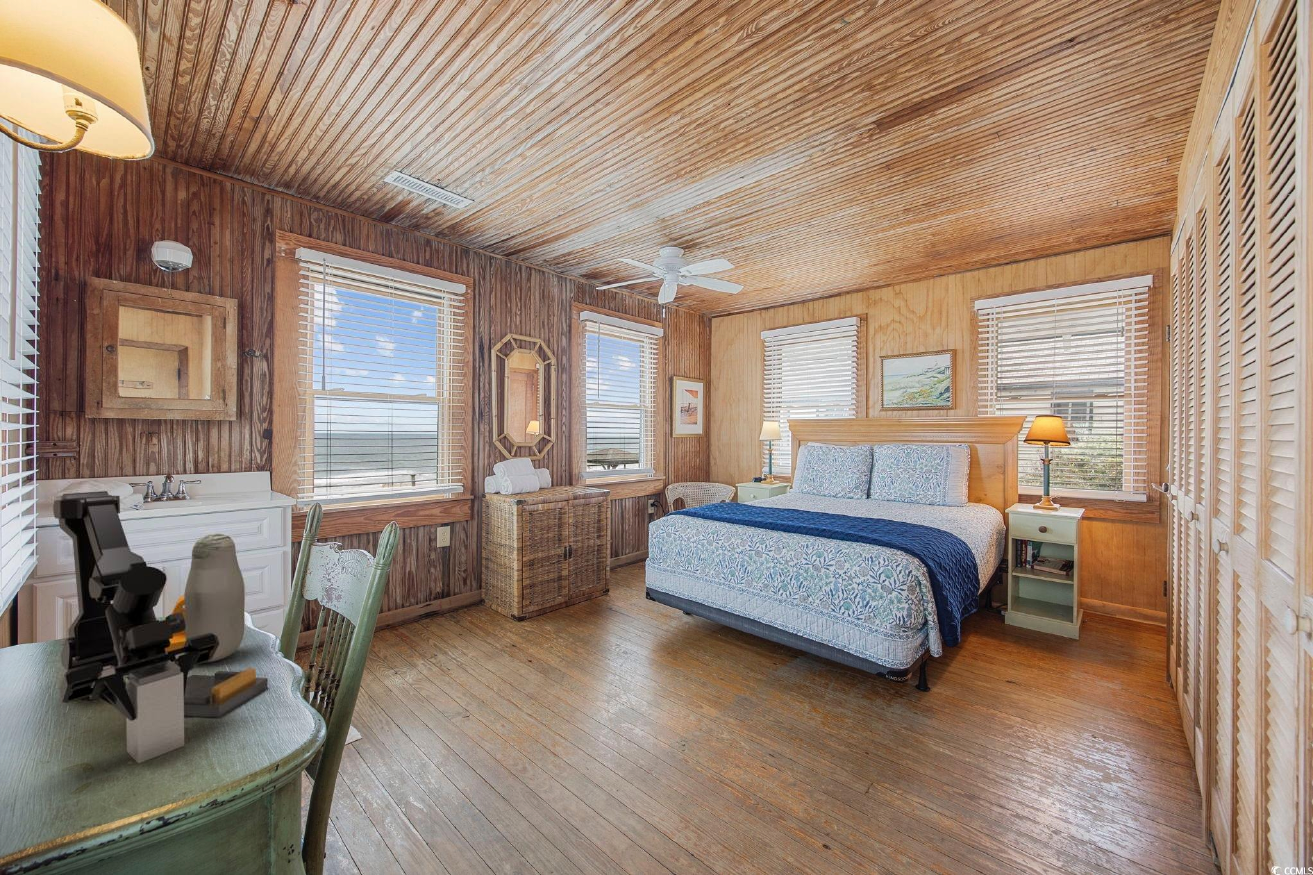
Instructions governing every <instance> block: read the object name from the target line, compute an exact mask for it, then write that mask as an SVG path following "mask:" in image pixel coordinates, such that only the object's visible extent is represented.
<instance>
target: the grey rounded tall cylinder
mask: <svg viewBox="0 0 1313 875" xmlns="http://www.w3.org/2000/svg"><path fill="white" fill-rule="evenodd" d="M190 562H191V563H190V568H189V572H188V576H187V581H186V584H185V588H184V594H183V595H184V606H183V608H184V609H185V624H186V629H185V632H186V641H187V639H188V638H192V637H196V636H200V635H204V634H208V633H212V634H214V635H216V636H217V637H218V640H219V643H220V644H219V646H218V648H217V650H216V652H215V654H214V655H213V657H212V659H210V660H209V661H207V662H206V663H212V662H218V661H220V660H223V659H225V658H227V657H229V656H231V655H233V653H235V652H236V651H237V650H238V648H239V647H240V645H241V644H242V642H243V640H244V635H245V604H246V602H245V600H246V597H245V594H246V593H245V590H246V589H245V588H246V587H245V582H244V581H245V580H244V577H243V573H242V571H241V569H240V566H239V565H240V564H239V562H238V557H237V552H236V543H235V542H234V540H233V539H232V538H231V536H229V535H227V534H224V533H223V534H222V533H214V534H207V535H205V536H203V537H200V538H199V539H198V540H197V541H196V542H195V543H194V545H193V547H192V550H191V561H190Z"/></svg>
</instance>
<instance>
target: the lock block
mask: <svg viewBox="0 0 1313 875" xmlns="http://www.w3.org/2000/svg"><path fill="white" fill-rule="evenodd" d="M125 682H126V685H125V688H126V690H127V693H128V695H129V698H130V700H131V702H132V705H133V707H134V712H135V719H134V720H133V721H130V720H129V719H128V718H127V717H125V719H126V752H127V753H128V754H129V755H130V756H131V757H132V758H133V760H135V762H136V763H137V764H140V763H143V762H146V761H149V760H151V759H153V758H155V757H159V756H161V755H164V754H166V753H170V752H171V751H174V750H177V749H179V748H182V747H184V746H185V716H184V689H183V673H182V672H181V671H180V667H179V666H177V665H176V664H174V663H173V662H171V661H170V660H167V661H164V662H160V663H157V664H153V665H150V666H146V667H142V668H139V669H135V670H132V671H129V675H128V676H127V677H125Z"/></svg>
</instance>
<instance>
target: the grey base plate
mask: <svg viewBox="0 0 1313 875" xmlns="http://www.w3.org/2000/svg"><path fill="white" fill-rule="evenodd" d="M256 672H257V671H256V668H246V669H245V670H243V671H229V670H218V671H216V672H215V673H214V675H209V674H208V675H207V674H203V675H202V674H192V675H188V676H187V683H186V690H185V698H184V717H185V716H186V717H200V718H201V717H202V718H221V717H222V716H224V715H226V714H227V713H229V712H230V711H232V710H234V709H236V708H237V707H240V705H241V706H242V704H243V703H246V702H247V701H249V700H250V699H252V698H253V697H256V696H257V695H258V694H260V693H261V692H264V691H265V690H266V689H268V678H267V677H256V675H257V673H256Z"/></svg>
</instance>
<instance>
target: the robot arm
mask: <svg viewBox="0 0 1313 875" xmlns="http://www.w3.org/2000/svg"><path fill="white" fill-rule="evenodd" d="M120 500H121V499H120V495H112V494H109V493H108V491H107V490H103V491H102V490H101V491H99V490H98V491H88V492H75V493H74V492H73V493H71V492H70V493H63V494H62V496H61V499H54V501H53V504H52V506H53V507H52V511H53V516H54V519H57V520H58V526H59V528H60V530H62V531H63V532H64V533H65V534H66V535H67V536H69V537H70V538H71V540H72V547H73V550H72V551H73V558H74V559H73V560H74V570H75V582H76V594H77V596H76V597H77V603H78V604H77V606H78V614H77V615H76V617H75V619H74V620H73V622H72V623H71V624H70V626H69V627H68V632H67V633H68V634H67V636H68V637H67V638H65V640H64V642H63V646H62V649H61V653H60V661H61V666H62V667H63V668H64V669H65V670H66V672H65V673H64V674H63V678H62V681H61V684H60V686H59V694H60V695H59V696H60V698H61V703H64V704H67V703H70V702H71V703H72V702H73V701H74V702H75V701H78V700H85V701H86V700H87V701H93V700H96V699H100V700H101V701H103V702H105V703H107V705H109V706H112V707H113V708H114V709H116V710H117V711H118V712H120V713H121V714H122V715H123V716H124V717H125V718H126V717H127V718H128V719H129V720H130V721H133V720H134V719H135V712H134V707H133V705H132V702H131V700H130V698H129V695H128V693H127V690H126V681H124V677H125V676H129V671H132V670H135V669H139V668H142V667H146V666H150V665H153V664H157V663H160V662H164V661H167V660H170V661H171V662H173V663H174V664H176V665H177V666H179V667H180V671H181V672H182V673H183V689H184V698H185V690H186V683H187V677H189V672H190V671H192V670H193V669H194V668H195V667H196V665H199V664H203V663H208V662H207V661H209V660H210V659H212V657H213V655H214V654H215V652H216V650H217V648H218V646H219V644H220V643H219V640H218V637H217V636H216V635H214V634H212V633H208V634H204V635H200V636H196V637H192V638H188V639H187V641H186V643H185V645H184V647H183V648H179V649H176V650H172V651H168V652H166V649H165V648H168V647H169V646H170V644H171V643H170V640H169V639H172V638H173V634H176V633H180V632H182V631H184V630H185V629H186V624H185V619H184V617H183V614H182V612H180V613H175V614H172V613H171V614H169V615H168V616H166V617H165V619H163V620H159V619H158V620H157V617H156V613H155V611H154V607H157V605H158V603H159V600H160V598H161V595H162V593H163V591H164V588H165V586H166V583H167V581H168V580H167V579H168V578H167V577H168V576H167V574H166V573H165V572H163V571H162V570H161V569H159V568H158V567H157V568H156V567H155V566H148V565H147V562H146V561H145V560H144V558H143V556H141V555H139V554H137V553H135V552H133V551H132V550H131V548H130V546H129V543H128V540H127V537H126V533H125V531H124V528H123V526H122V521H121V519H120V516H119V514H120V513H121V501H120Z"/></svg>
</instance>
